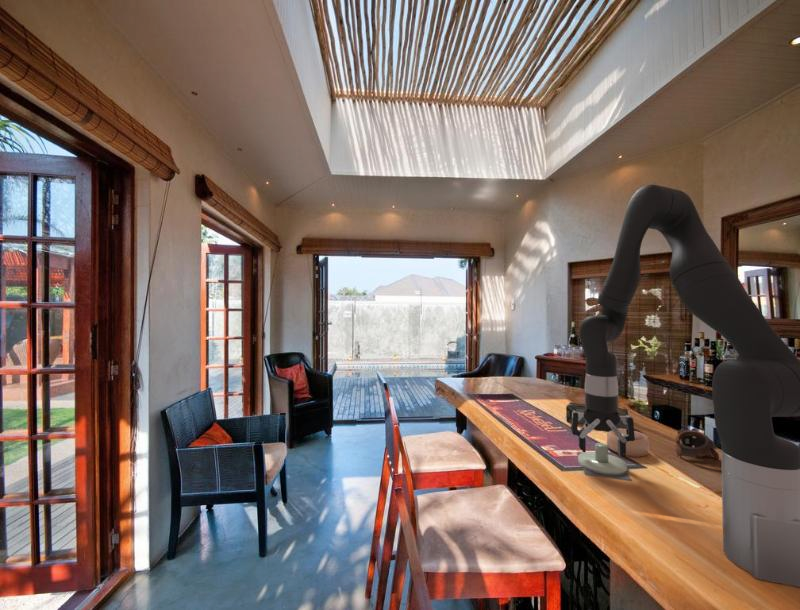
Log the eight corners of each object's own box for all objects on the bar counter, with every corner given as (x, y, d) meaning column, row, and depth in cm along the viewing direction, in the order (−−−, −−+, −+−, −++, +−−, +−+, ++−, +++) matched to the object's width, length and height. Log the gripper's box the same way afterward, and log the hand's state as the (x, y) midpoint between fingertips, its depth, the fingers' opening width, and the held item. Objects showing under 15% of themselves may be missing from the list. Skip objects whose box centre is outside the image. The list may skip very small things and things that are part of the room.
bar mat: (632, 483, 82) (632, 480, 82) (585, 476, 85) (585, 474, 85) (616, 458, 95) (616, 456, 95) (576, 454, 98) (576, 452, 98)
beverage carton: (569, 416, 133) (569, 399, 133) (628, 426, 122) (628, 407, 122) (565, 422, 126) (565, 404, 126) (628, 433, 115) (628, 413, 115)
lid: (632, 478, 83) (632, 456, 83) (581, 471, 86) (581, 450, 87) (620, 459, 93) (620, 440, 93) (575, 453, 97) (575, 435, 97)
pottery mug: (732, 467, 91) (723, 442, 89) (696, 480, 92) (686, 456, 91) (696, 438, 102) (688, 416, 101) (665, 450, 104) (656, 429, 102)
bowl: (654, 461, 93) (653, 442, 93) (611, 456, 96) (611, 438, 96) (641, 447, 102) (641, 430, 102) (603, 443, 106) (603, 426, 106)
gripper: (573, 392, 89) (573, 455, 89) (637, 397, 84) (638, 463, 84) (569, 386, 96) (569, 444, 96) (628, 390, 91) (629, 451, 91)
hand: (601, 453), depth 90 cm, fingers open, 8 cm apart
